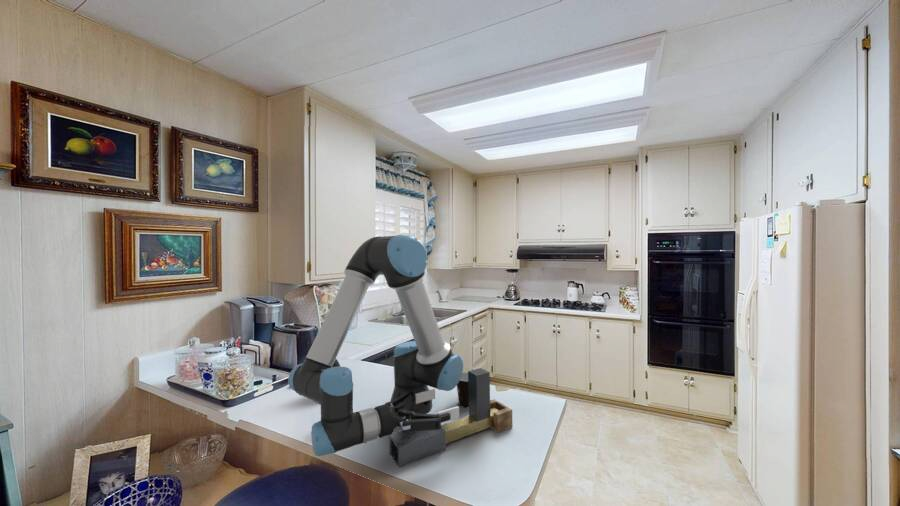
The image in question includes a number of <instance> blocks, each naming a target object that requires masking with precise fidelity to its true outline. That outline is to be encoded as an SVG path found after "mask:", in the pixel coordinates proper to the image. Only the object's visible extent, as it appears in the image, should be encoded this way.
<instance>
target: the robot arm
mask: <svg viewBox="0 0 900 506" xmlns="http://www.w3.org/2000/svg"><path fill="white" fill-rule="evenodd" d="M428 257H429V256H428V253H427V249H426V247H425V245H424V244H423V242H422V241H421V240H419V238H417V237H414V236H412V235H406V234H398V235H389V236H387V235H385V236H384V235H383V236H381V235H380V236H374V237H370V238H369V239H367V240H366V241H364V242H363V243H361V245H359V247H358V248H357V249H356V251H354V253H353V254H352V257H351V258H350V259H349V261H348V263H347V265H346V267H345V268H344V271H343V272H344V275H345V277H344V279H343V281H342V283H341V285H340V287H339V289H338V291H337V292H336V295H335V297H334V298H333V301H332V303H331V306H330V307H329V308H328V309H329V310H328V312H327V314H326V316H325V317H324V320H323V322H322V324H321V326H320V328H319V330H318V332H317V333H316V336H315V338H314V340H313V341H312V342H313V343H311V344H312V345H311V346H310V348H309V350H308V352H307V355H306V356H305V359H304V360H303V362H302V363H300V364H297V365H296V366H295V367H294V368H293V369H291V371H290V372H289V374H288V378H287V380H288V387H290V389H291V390H292V391H293V392H295V393H296V394H298V395H299V396H302V397H304V398H307V399H308V400H310V401H312V402H315V403H317V404H318V405H320V420H319V421H317V422H314V423H312V426H311V431H310V435H311V443H312V445H311V447H312V450H313V453H314V455H315V456H317V457H323V456H327V455H331V454H336V453H338V452H340V451H343V450H346V449H348V448H352V447H354V446H355V447H356V446H358V445H361V444H366V443H368V442H371V441H373V440H376V439H378V438H384V437H387V436H389V435H391V434H392V433H395V432H394V431H395V430H396V428H401V430H402V432H403V433H407V432H411V431H425V430H439V429H441V425H442V424H443V423H444V422H448V421H450V420H451V421H452V420H453V419H456V418H457V419H458V418H460V407H459V406H458V405H457V406H453V407H450V408H446V409H443V410H440V411H437V412H436V414H435V413H428V412H430V411H431V409H432V408H433V400H434V399H436V389H437V390H439V391H446V392H449V391H452V390H454V389H455V388H457V384H458V383H459V381H460V379H461V376H462V373H463V372H464V361H463V358H462V356H460V355H458V354H457V353H456V354H454V353H453V350H452V348H451V345H450V343H449V342H448V341H447V340H445V339H443V336H442V333H441V330H440V327H439V325H438V322H437V318H436V316H435V313H434V311H433V307H432V304H431V301H430V299H429V296H428V293H427V290H426V287H425V283H424V281H423V278H424V276H425V275H426V271H425V270H426V268H427V266H428V262H427V261H428ZM381 275H382V276H384V278H385V281H386V284H387V286H388V288H390V289H393V290H395V292H396V294H397V298H398V301H399V303H400V305H401V308H402V311H403V314H404V317H405V319H406V321H407V323H408V327H409V329H410V331H411V332H410V333H411V335H412V337H413V340H412V341H406V342H405V341H404V342H402V343H399V344H397V345H396V346H395V347H394V348H393V349H394V350H393V373H394V375H393V376H394V377H393V379H394V388H393V391H392V394H391V397H390V399H389V400H390V401H387V402H385V403H384V404H381V405H378V406H374V408H373V407H370V408H365V409H362V410H358V411H355V412H354V408H353V405H354V399H353V397H354V396H353V395H354V394H353V393H354V382H353V373H352V369H350V368H348V367H346V366H341V365H340V366H341V367H340V366H338V367H332V366H333V364H334V361H335V359H337V357H338V355H339V353H340V350H341V348H342V346H343V344H344V341H345V340H346V338H347V335H348V333H349V331H350V328H351V327H352V324H353V321H354V320H355V318H356V315H357V313H358V311H359V309H360V306H361V305H362V302H363V300H364V298H365V296H366V294H367V291H368V289H369V287H370V286H373V285H375V282H376V280H377V278H378V277H379V276H381ZM429 387H431V388H433V389H429Z"/></svg>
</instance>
